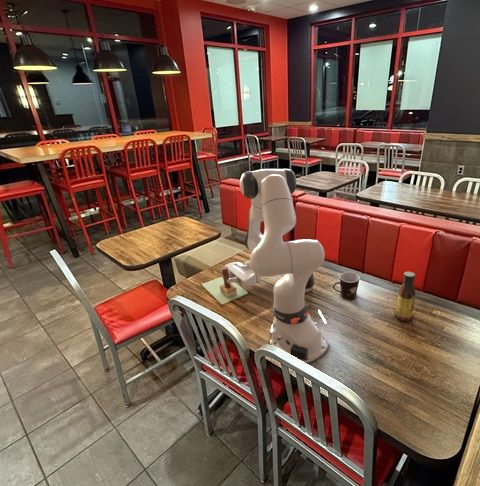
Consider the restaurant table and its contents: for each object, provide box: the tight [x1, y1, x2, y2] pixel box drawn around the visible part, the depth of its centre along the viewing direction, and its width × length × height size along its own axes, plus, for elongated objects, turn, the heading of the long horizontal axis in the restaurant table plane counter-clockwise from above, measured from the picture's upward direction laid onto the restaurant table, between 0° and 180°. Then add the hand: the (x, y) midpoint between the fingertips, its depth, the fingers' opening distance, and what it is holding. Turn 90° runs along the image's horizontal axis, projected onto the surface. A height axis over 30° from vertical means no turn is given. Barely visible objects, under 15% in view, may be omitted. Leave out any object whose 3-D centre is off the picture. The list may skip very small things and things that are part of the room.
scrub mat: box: [201, 276, 249, 305], centre depth 150 cm, size 22×14×1 cm, turn 36°
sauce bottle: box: [395, 271, 417, 322], centre depth 122 cm, size 6×6×20 cm
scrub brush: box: [220, 266, 237, 297], centre depth 144 cm, size 7×5×13 cm
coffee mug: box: [332, 271, 361, 301], centre depth 139 cm, size 12×9×10 cm
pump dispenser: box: [305, 273, 315, 294], centre depth 144 cm, size 10×10×15 cm
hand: (224, 279), depth 143 cm, fingers closed on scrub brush, 3 cm apart
